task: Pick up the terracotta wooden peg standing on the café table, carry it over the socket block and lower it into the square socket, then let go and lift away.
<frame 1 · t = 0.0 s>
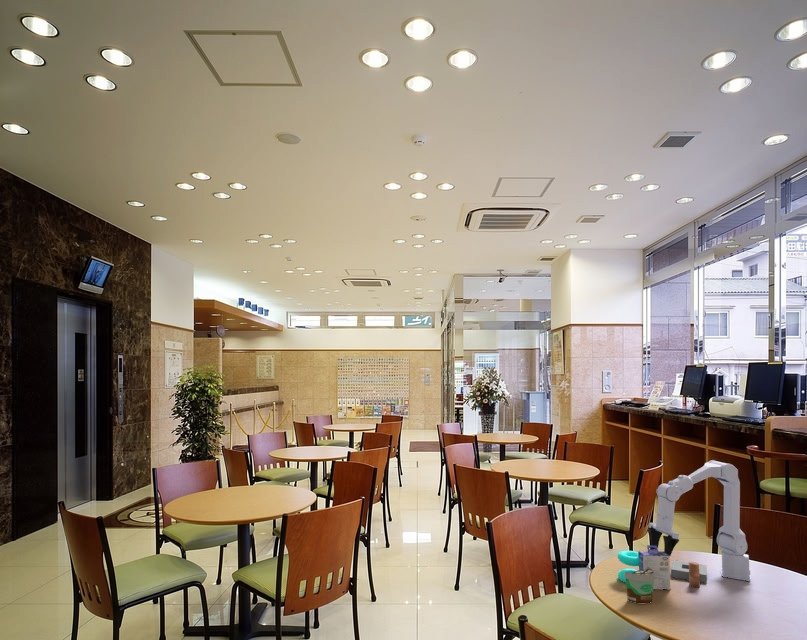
hand: (660, 552, 216), 11 cm above the table, tool pointing down, fingers open, 7 cm apart
donuts: (632, 581, 214), on the table, touching ink cartridge box
ink cartridge box: (654, 587, 209), on the table, touching donuts, gripper
socket block: (689, 575, 221), on the table
peg: (694, 585, 211), on the table
food container: (644, 602, 196), on the table
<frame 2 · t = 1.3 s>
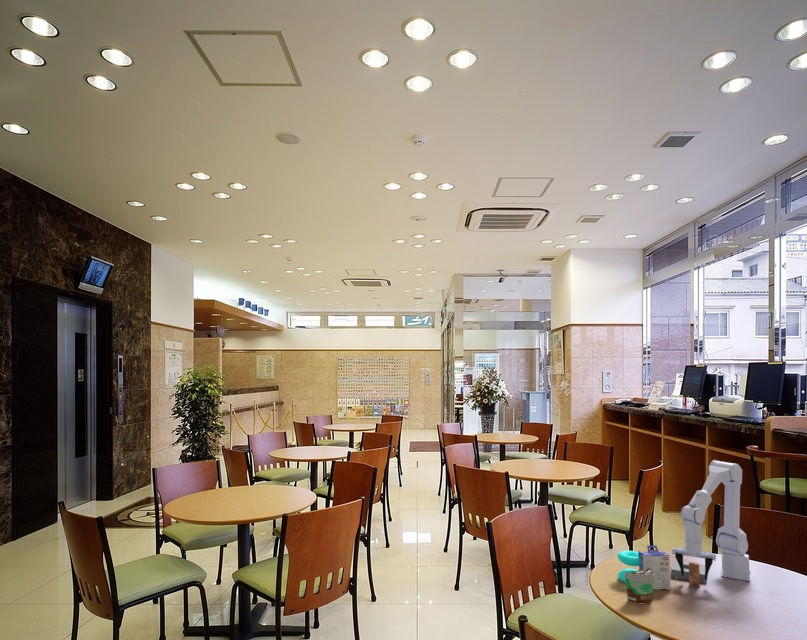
hand: (694, 576, 211), 3 cm above the table, tool pointing down, fingers open, 7 cm apart
ink cartridge box: (654, 587, 209), on the table, touching donuts
everything else where it was.
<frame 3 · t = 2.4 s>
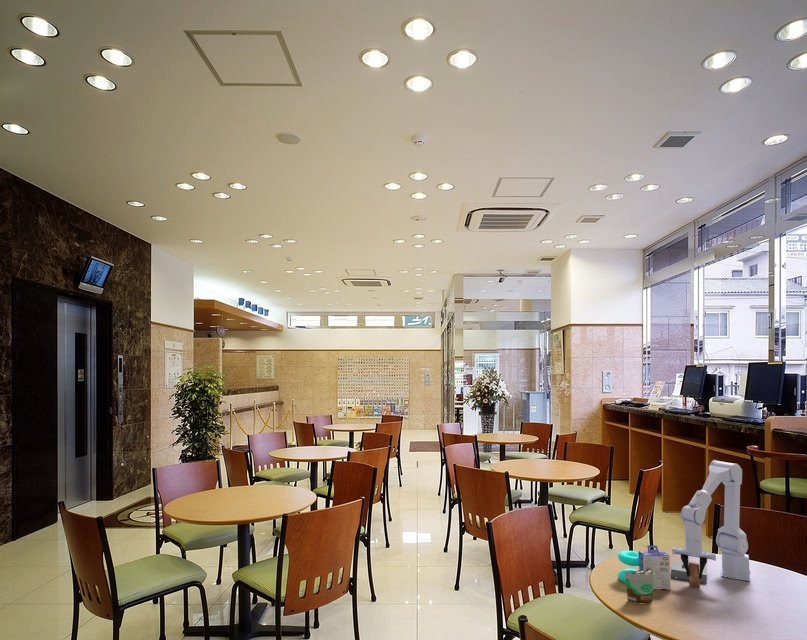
hand: (694, 576, 211), 3 cm above the table, tool pointing down, fingers closed on peg, 3 cm apart
peg: (694, 585, 211), on the table, touching gripper
everything else where it was.
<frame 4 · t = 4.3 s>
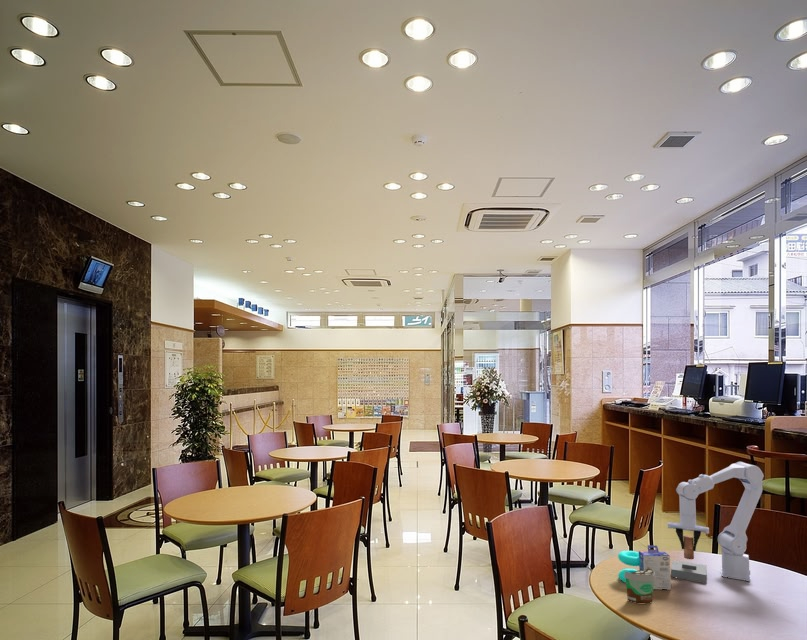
hand: (688, 549, 222), 10 cm above the table, tool pointing down, fingers closed on peg, 3 cm apart
peg: (688, 557, 222), point 7 cm above the table, touching gripper
everything else where it was.
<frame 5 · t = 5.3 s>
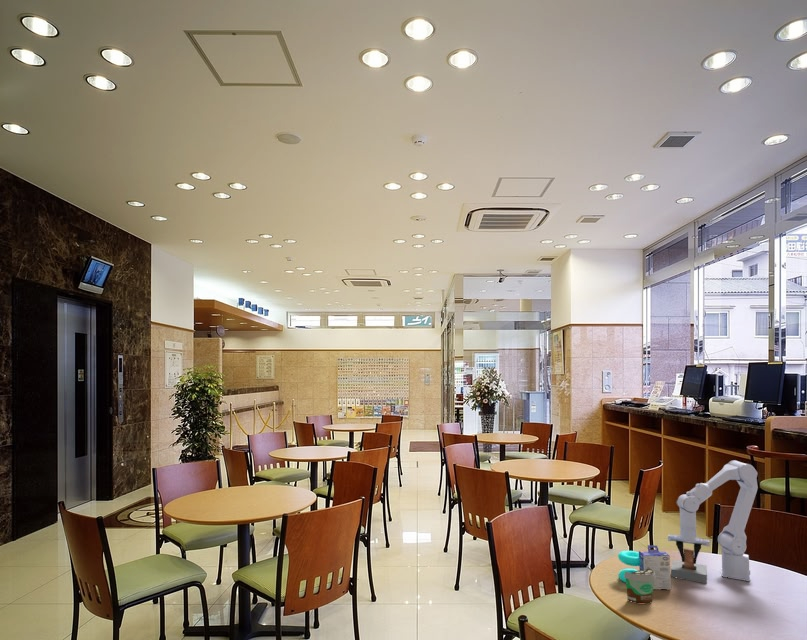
hand: (688, 562, 222), 5 cm above the table, tool pointing down, fingers closed on peg, 3 cm apart
peg: (689, 570, 221), point 2 cm above the table, touching gripper
everything else where it was.
when the fingers open (4 cm above the table, at t = 6.3 s): peg stays where it is, resting in socket block.
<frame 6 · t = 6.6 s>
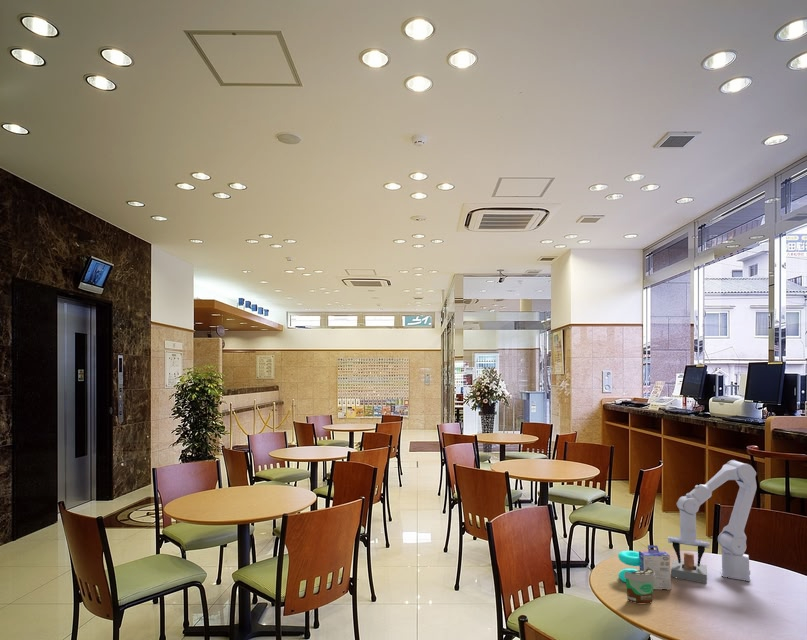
hand: (689, 564, 222), 4 cm above the table, tool pointing down, fingers open, 6 cm apart
peg: (689, 575, 221), resting in socket block
everything else where it was.
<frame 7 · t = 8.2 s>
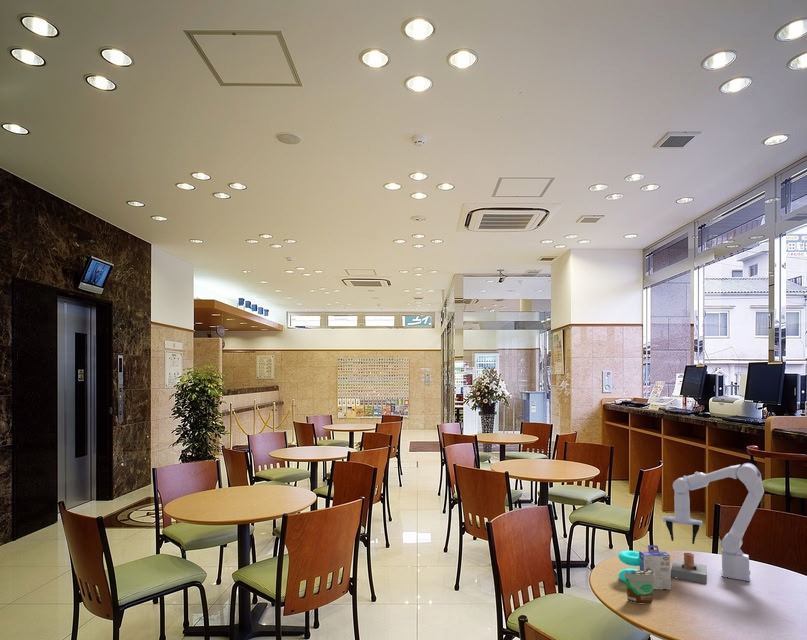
hand: (682, 541, 233), 9 cm above the table, tool pointing down, fingers open, 7 cm apart
nothing on the table moved.
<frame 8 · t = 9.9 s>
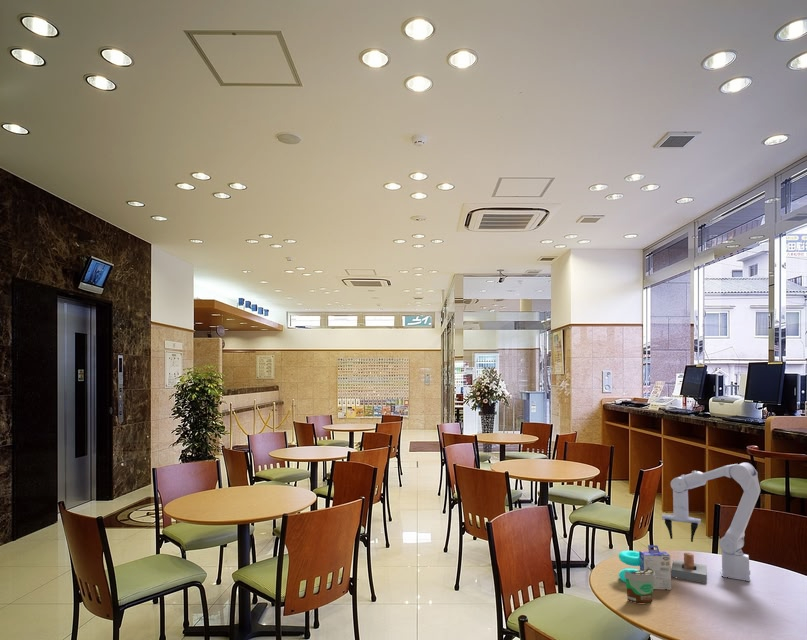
hand: (681, 539, 236), 9 cm above the table, tool pointing down, fingers open, 7 cm apart
nothing on the table moved.
at the end: peg 0.1 cm off-centre on the socket block, point 0.0 cm above the socket block's base; peg tilted 0°; the gripper is holding nothing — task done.
